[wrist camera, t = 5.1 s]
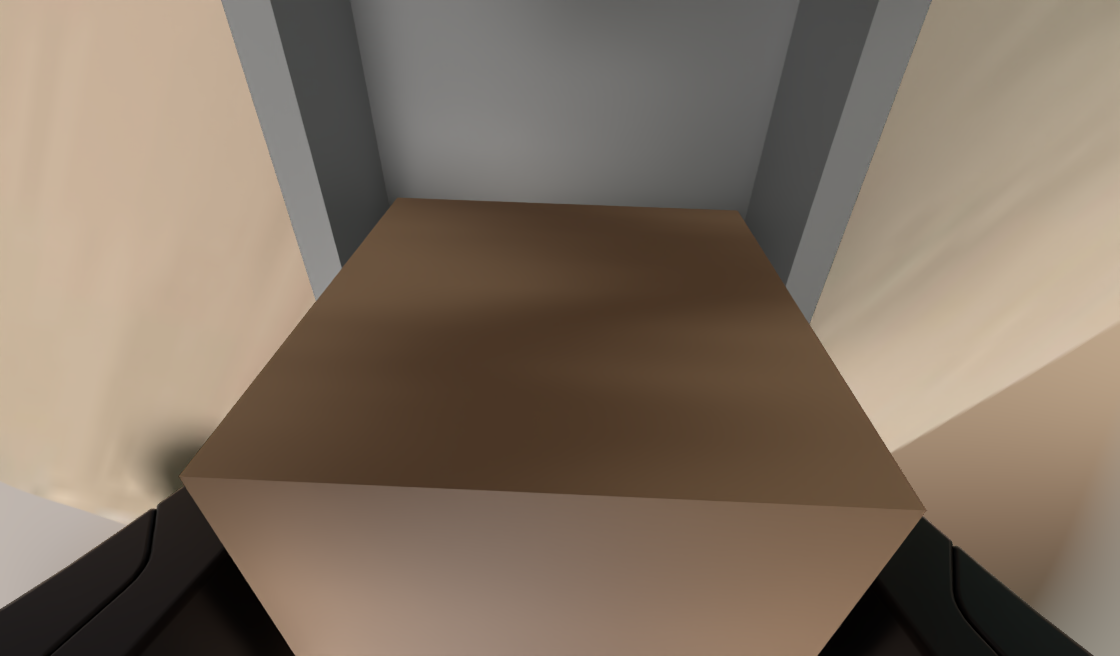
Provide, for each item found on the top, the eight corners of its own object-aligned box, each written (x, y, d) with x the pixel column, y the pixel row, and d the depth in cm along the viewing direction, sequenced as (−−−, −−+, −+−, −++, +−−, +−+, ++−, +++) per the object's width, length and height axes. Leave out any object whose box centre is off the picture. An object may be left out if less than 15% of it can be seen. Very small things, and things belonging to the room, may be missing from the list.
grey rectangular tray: (744, 296, 20) (787, 383, 16) (386, 283, 20) (336, 366, 16) (978, -554, 9) (1296, -966, 5) (207, -558, 9) (-80, -954, 5)
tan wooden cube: (737, 210, 7) (927, 509, 3) (680, 442, 10) (744, 751, 6) (397, 197, 7) (178, 476, 3) (437, 431, 10) (344, 731, 6)
